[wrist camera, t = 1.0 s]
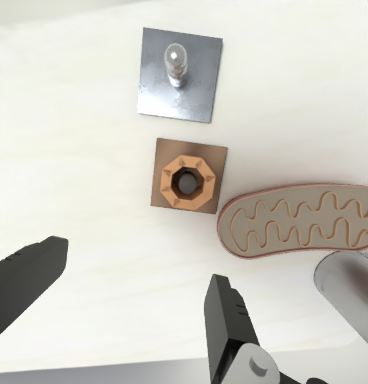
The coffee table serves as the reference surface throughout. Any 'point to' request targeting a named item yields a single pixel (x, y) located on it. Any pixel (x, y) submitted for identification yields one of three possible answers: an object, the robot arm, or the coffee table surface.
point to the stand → (187, 171)
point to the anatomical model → (295, 220)
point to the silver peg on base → (178, 75)
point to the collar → (199, 194)
